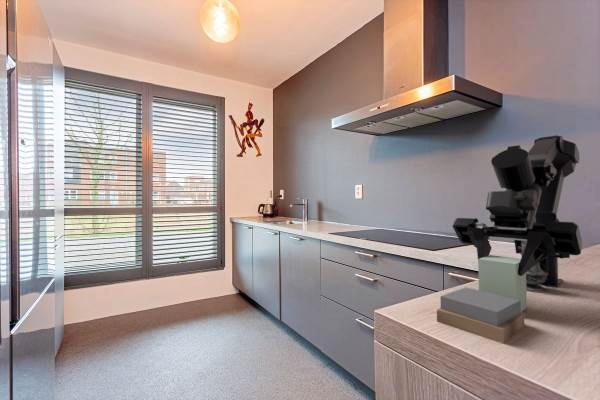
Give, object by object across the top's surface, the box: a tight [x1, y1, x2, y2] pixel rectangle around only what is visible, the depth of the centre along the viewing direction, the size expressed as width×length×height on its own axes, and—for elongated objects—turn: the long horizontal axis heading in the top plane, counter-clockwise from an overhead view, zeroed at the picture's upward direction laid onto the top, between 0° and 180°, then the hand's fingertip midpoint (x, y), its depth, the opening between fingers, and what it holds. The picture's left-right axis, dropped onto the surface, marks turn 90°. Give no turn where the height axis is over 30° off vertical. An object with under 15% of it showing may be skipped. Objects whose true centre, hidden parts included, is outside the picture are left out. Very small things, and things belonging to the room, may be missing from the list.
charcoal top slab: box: [440, 287, 521, 327], centre depth 45 cm, size 8×8×2 cm
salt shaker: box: [519, 240, 548, 293], centre depth 61 cm, size 6×6×12 cm
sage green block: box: [477, 254, 528, 312], centre depth 51 cm, size 6×6×8 cm
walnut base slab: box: [436, 307, 525, 344], centre depth 44 cm, size 9×9×2 cm
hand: (499, 270), depth 50 cm, fingers closed on sage green block, 5 cm apart
